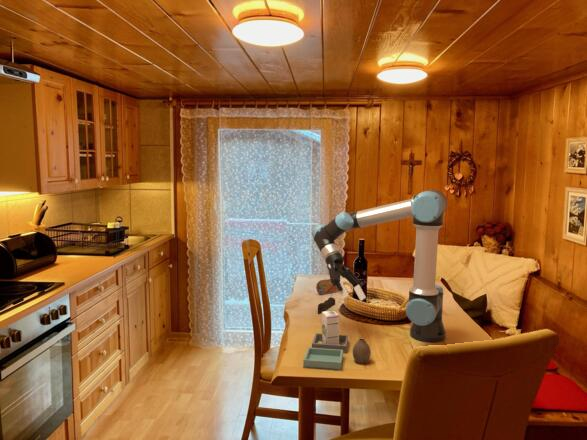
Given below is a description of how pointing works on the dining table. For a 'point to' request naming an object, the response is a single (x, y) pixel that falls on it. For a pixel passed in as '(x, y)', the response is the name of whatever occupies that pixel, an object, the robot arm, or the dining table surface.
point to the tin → (326, 287)
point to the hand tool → (325, 305)
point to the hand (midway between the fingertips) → (355, 298)
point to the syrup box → (330, 327)
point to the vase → (361, 351)
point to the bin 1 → (330, 346)
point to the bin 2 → (323, 359)
